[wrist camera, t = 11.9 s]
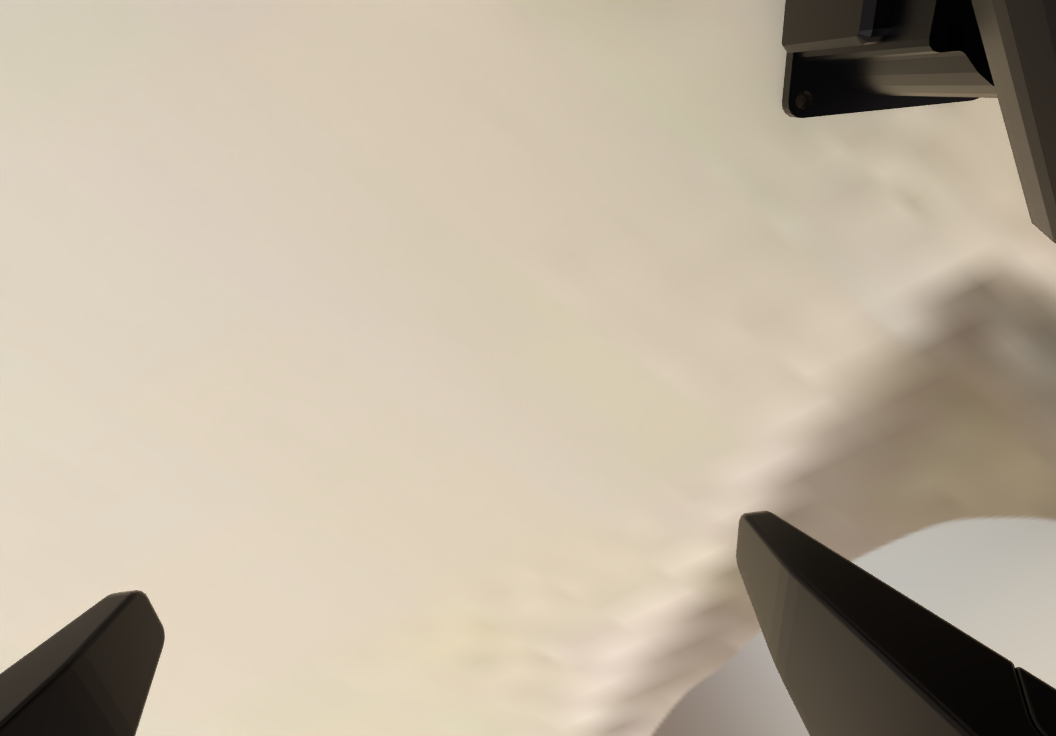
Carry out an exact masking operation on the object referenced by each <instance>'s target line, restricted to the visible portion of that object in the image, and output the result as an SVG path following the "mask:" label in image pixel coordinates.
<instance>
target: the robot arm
mask: <svg viewBox="0 0 1056 736" xmlns="http://www.w3.org/2000/svg"><path fill="white" fill-rule="evenodd" d="M782 45H783V47H784V48H785V50H786V51H787V56H786V67H785V77H784V88H783V98H782V106H783V110H784V112H785V113H786V114H787V115H789V116H790V117H798V118H806V117H816V116H825V115H835V114H845V113H854V112H864V111H874V110H883V109H893V108H903V107H913V106H922V105H932V104H942V103H951V102H961V101H971V100H975V99H978V98H979V97H984V98H998V100H999V104H1000V108H1001V111H1002V115H1003V119H1004V123H1005V126H1006V130H1007V134H1008V137H1009V141H1010V145H1011V148H1012V152H1013V156H1014V159H1015V163H1016V167H1017V170H1018V174H1019V178H1020V181H1021V185H1022V189H1023V192H1024V196H1025V200H1026V204H1027V207H1028V211H1029V215H1030V218H1031V222H1032V223H1033V224H1034V225H1035V226H1036V227H1037V228H1038V229H1039V230H1041V231H1042V232H1043V233H1044V234H1045V235H1046V236H1047V237H1048V238H1050V239H1051V240H1052V241H1053V242H1054V243H1056V0H786V4H785V15H784V26H783V37H782ZM802 92H803V93H804V94H805V98H806V100H805V103H804V105H803V106H802V107H801V108H798V107H797V106H796V99H797V96H798V95H799V94H800V93H802ZM736 558H737V564H738V568H739V571H740V574H741V577H742V579H743V582H744V585H745V587H746V590H747V593H748V595H749V598H750V601H751V603H752V606H753V608H754V611H755V614H756V616H757V619H758V622H759V624H760V627H761V630H762V632H763V635H764V638H765V640H766V643H767V646H768V648H769V651H770V653H771V656H772V658H773V661H774V663H775V666H776V668H777V670H778V672H779V674H780V676H781V678H782V681H783V683H784V685H785V687H786V689H787V690H788V693H789V695H790V697H791V699H792V701H793V702H794V705H795V706H796V709H797V710H798V712H799V715H800V717H801V719H802V720H803V723H804V725H805V727H806V729H807V731H808V732H809V735H810V736H1056V689H1055V688H1053V687H1051V686H1050V685H1048V684H1047V683H1045V682H1043V681H1042V680H1040V679H1039V678H1037V677H1035V676H1034V675H1032V674H1031V673H1029V672H1027V671H1026V670H1024V669H1022V668H1020V667H1016V668H1015V667H1014V664H1013V663H1012V662H1011V661H1009V660H1008V659H1006V658H1005V657H1003V656H1001V655H1000V654H998V653H996V652H995V651H993V650H991V649H990V648H988V647H987V646H985V645H983V644H982V643H980V642H979V641H977V640H976V639H974V638H972V637H971V636H969V635H967V634H966V633H964V632H963V631H961V630H960V629H958V628H956V627H955V626H953V625H952V624H950V623H948V622H947V621H945V620H944V619H942V618H940V617H938V616H937V615H935V614H934V613H932V612H931V611H929V610H927V609H926V608H924V607H923V606H921V605H919V604H918V603H916V602H915V601H913V600H911V599H909V598H908V597H907V596H905V595H903V594H902V593H900V592H899V591H896V590H895V589H894V588H892V587H890V586H889V585H887V584H886V583H884V582H882V581H881V580H879V579H878V578H876V577H874V576H873V575H871V574H869V573H868V572H866V571H865V570H863V569H862V568H860V567H858V566H857V565H855V564H854V563H852V562H850V561H849V560H847V559H846V558H844V557H842V556H841V555H839V554H838V553H836V552H834V551H833V550H831V549H829V548H828V547H826V546H825V545H823V544H821V543H820V542H818V541H817V540H815V539H813V538H812V537H810V536H809V535H807V534H805V533H804V532H802V531H801V530H799V529H797V528H796V527H794V526H793V525H791V524H789V523H788V522H786V521H785V520H783V519H781V518H780V517H778V516H777V515H775V514H773V513H771V512H769V511H759V512H751V513H745V514H743V515H742V516H741V518H740V520H739V529H738V540H737V551H736ZM164 638H165V634H164V628H163V626H162V623H161V622H160V620H159V618H158V616H157V614H156V612H155V610H154V608H153V606H152V604H151V603H150V601H149V599H148V597H147V595H146V594H145V593H143V592H142V591H138V590H135V591H127V592H119V593H114V594H111V595H108V596H107V597H105V598H104V599H102V600H101V601H100V602H98V603H97V604H96V605H94V606H93V607H91V608H90V609H89V610H87V611H86V612H85V613H83V614H82V615H80V616H79V617H78V618H76V619H75V620H74V621H72V622H71V623H69V624H68V625H67V626H65V627H64V628H63V629H61V630H60V631H59V632H57V633H56V634H54V635H53V636H52V637H50V638H49V639H48V640H46V641H45V642H43V643H42V644H41V645H39V646H38V647H37V648H35V649H34V650H33V651H31V652H30V653H28V654H27V655H26V656H24V657H23V658H22V659H20V660H19V661H17V662H16V663H15V664H13V665H12V666H11V667H9V668H8V669H7V670H5V671H4V672H2V673H1V674H0V736H135V734H136V731H137V728H138V725H139V722H140V718H141V715H142V712H143V709H144V706H145V702H146V699H147V696H148V693H149V690H150V687H151V683H152V680H153V677H154V674H155V671H156V668H157V664H158V661H159V658H160V655H161V652H162V648H163V645H164Z"/></svg>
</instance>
